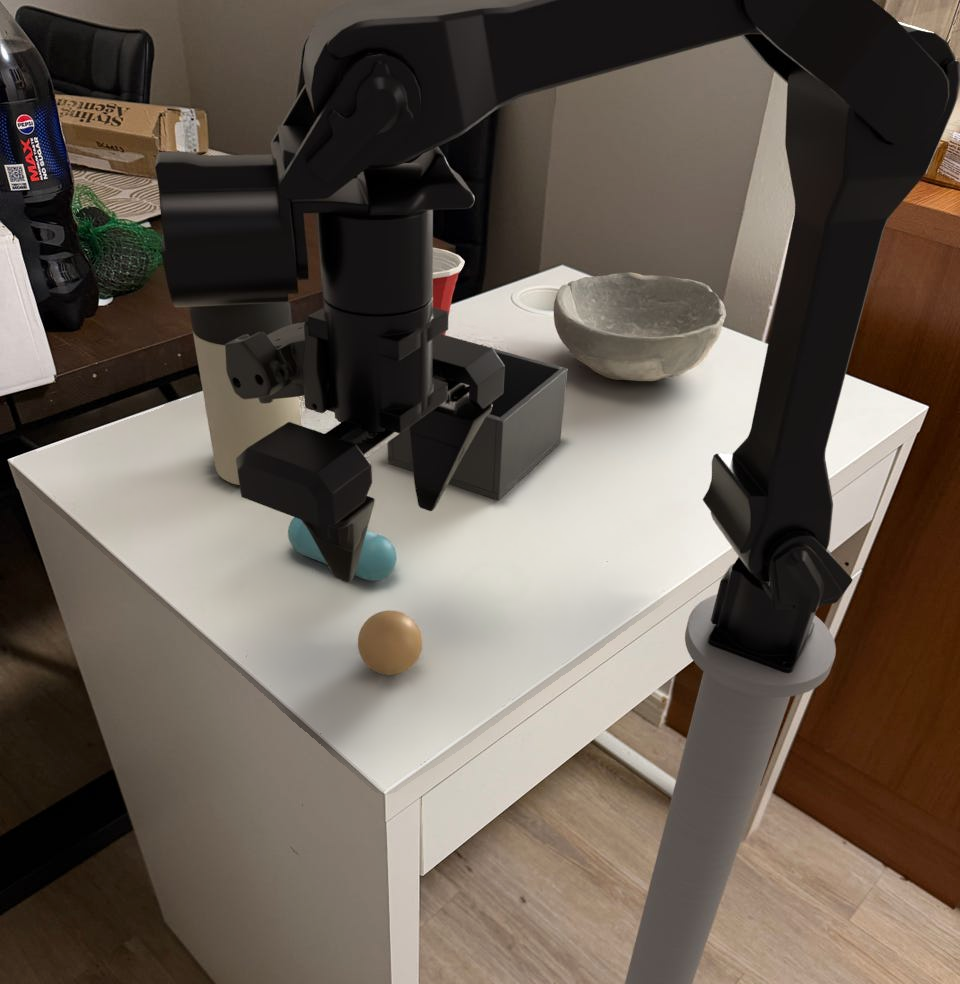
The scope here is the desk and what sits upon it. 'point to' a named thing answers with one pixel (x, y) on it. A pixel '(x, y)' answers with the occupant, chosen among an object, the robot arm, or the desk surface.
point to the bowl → (638, 324)
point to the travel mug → (226, 411)
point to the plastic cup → (445, 277)
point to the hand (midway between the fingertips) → (387, 542)
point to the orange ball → (390, 642)
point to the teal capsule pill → (373, 559)
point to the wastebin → (507, 429)
